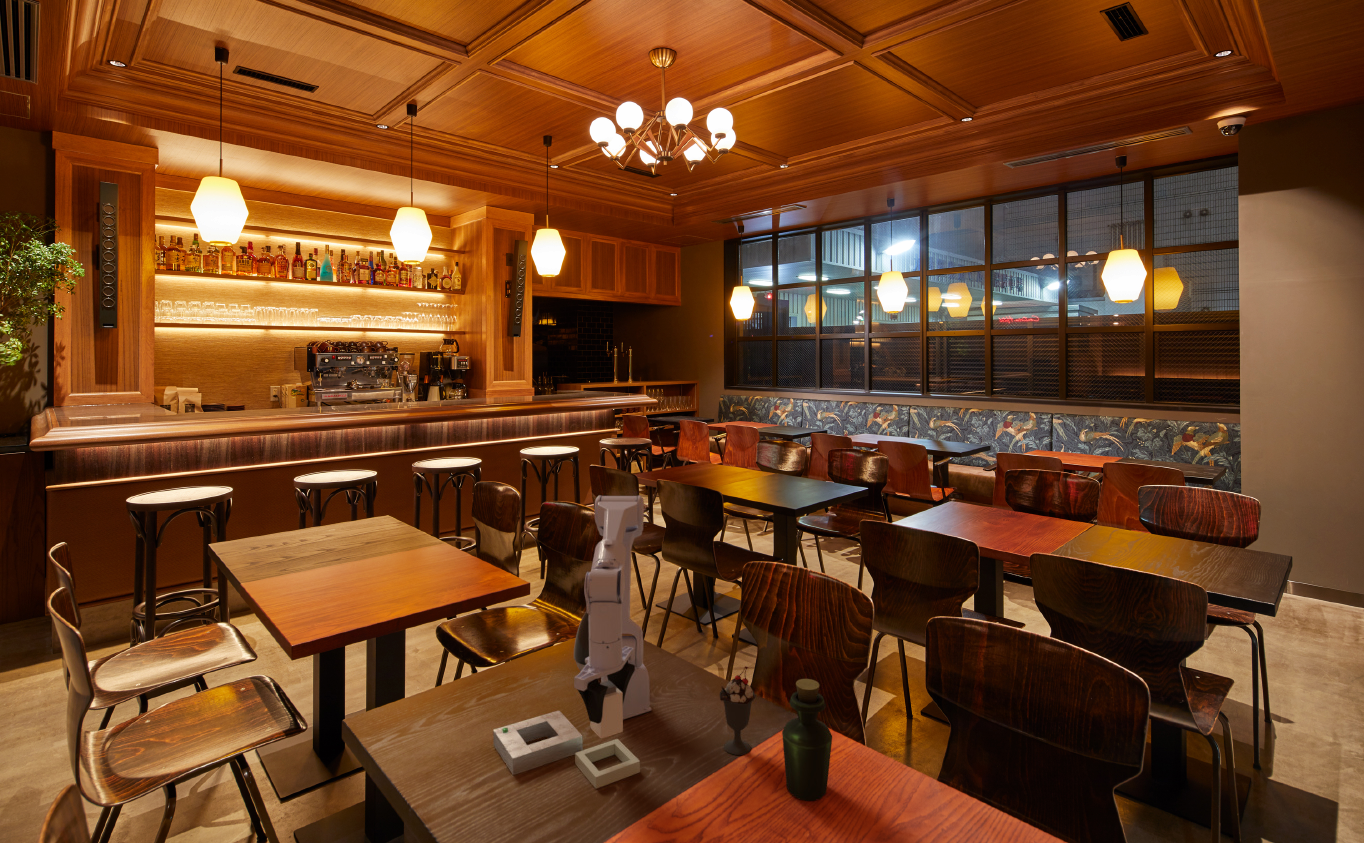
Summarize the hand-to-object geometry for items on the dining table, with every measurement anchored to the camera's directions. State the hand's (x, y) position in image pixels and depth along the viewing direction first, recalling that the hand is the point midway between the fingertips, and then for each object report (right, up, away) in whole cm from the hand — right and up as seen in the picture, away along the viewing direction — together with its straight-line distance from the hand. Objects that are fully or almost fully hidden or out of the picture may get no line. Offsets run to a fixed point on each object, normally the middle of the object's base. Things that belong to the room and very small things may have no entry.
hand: (606, 713), depth 114 cm
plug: (0, -3, 0) cm, 3 cm away
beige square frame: (0, -10, +1) cm, 10 cm away
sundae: (+23, -10, +7) cm, 26 cm away
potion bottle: (+34, -10, -5) cm, 36 cm away
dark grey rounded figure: (-7, -8, +38) cm, 40 cm away
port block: (-13, -10, +7) cm, 18 cm away
